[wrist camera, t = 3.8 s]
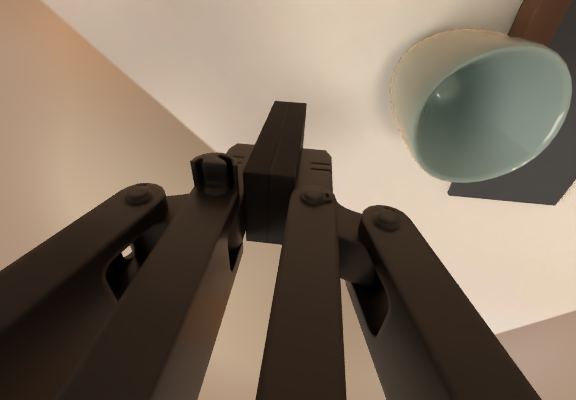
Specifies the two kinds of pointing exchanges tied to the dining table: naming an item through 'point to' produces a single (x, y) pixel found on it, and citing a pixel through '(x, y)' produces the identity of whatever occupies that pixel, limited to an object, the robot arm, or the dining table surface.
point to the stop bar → (539, 19)
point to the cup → (478, 102)
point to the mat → (553, 159)
